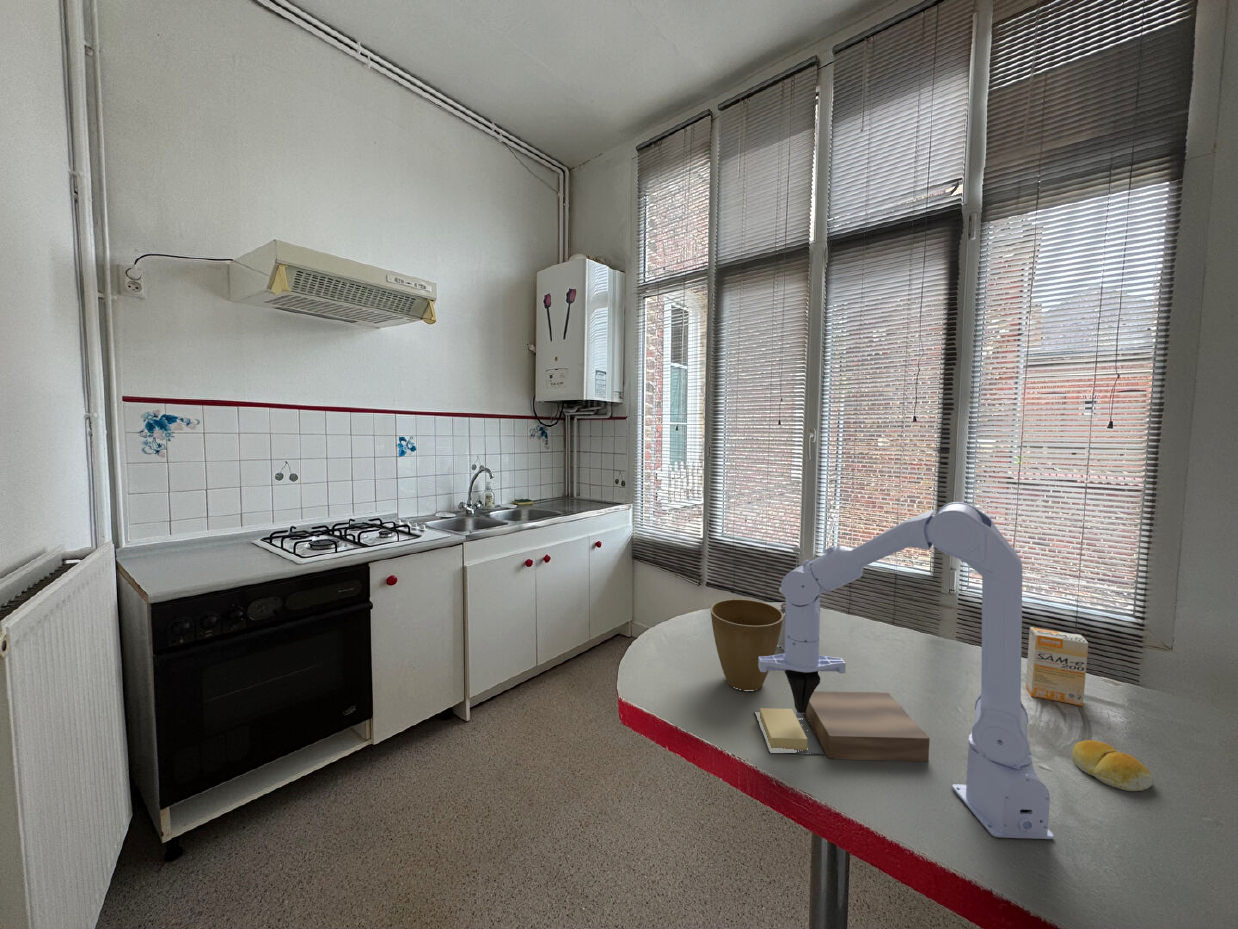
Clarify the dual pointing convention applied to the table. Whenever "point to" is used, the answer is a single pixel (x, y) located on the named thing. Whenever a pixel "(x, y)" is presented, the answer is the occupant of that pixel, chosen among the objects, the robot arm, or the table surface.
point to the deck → (865, 727)
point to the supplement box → (1056, 666)
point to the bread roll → (1111, 766)
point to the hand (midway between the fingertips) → (800, 709)
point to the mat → (809, 737)
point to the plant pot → (745, 639)
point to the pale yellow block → (783, 729)
